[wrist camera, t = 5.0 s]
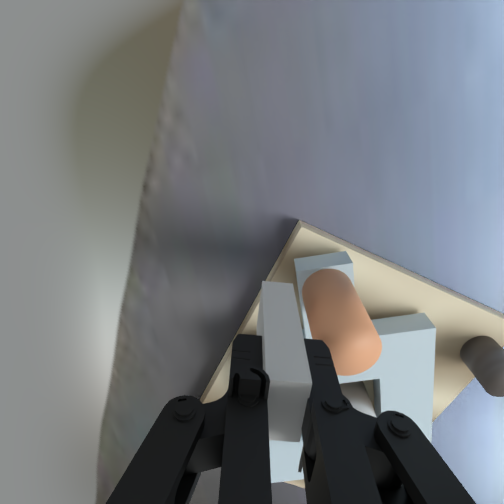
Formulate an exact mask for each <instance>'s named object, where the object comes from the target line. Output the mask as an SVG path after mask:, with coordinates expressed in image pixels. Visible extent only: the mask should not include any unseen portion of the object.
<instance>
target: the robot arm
mask: <svg viewBox="0 0 504 504" xmlns="http://www.w3.org/2000/svg"><path fill="white" fill-rule="evenodd" d="M301 434H302V437H303V448H302V453H301V457H300V462H299V467H298V472H301V471H302V467H303V474H304V482H305V491H306V499H307V504H476V503H475V502H474V500H473V499H472V498H471V496H470V495H469V494H468V492H467V491H466V490H465V488H464V487H463V486H462V484H461V483H460V482H459V480H458V479H457V478H456V476H455V475H454V474H453V472H452V471H451V470H450V468H449V467H448V465H447V464H446V463H445V461H444V460H443V459H442V457H441V456H440V455H439V453H438V452H437V451H436V449H435V448H434V447H433V445H432V444H431V443H430V441H429V440H428V439H427V437H426V436H425V435H424V433H423V432H422V431H421V429H420V428H419V427H418V425H417V424H416V423H415V422H414V421H413V420H412V419H411V418H409V417H408V416H406V415H405V414H403V413H400V412H397V411H388V410H387V411H385V412H382V413H381V414H380V415H379V416H378V418H377V417H374V416H371V415H368V414H365V413H362V412H360V411H358V410H356V409H355V408H353V406H352V404H351V403H350V401H349V400H348V399H347V398H346V397H345V396H344V395H343V394H342V391H341V387H340V384H339V380H338V377H337V373H336V370H335V367H334V363H333V360H332V356H331V353H330V349H329V347H328V346H327V345H326V344H325V343H324V342H323V340H317V339H305V338H303V333H302V328H301V323H300V317H299V312H298V307H297V302H296V297H295V292H294V287H293V283H281V282H270V281H262V287H261V295H260V303H259V311H258V319H257V335H248V334H238V335H237V336H236V337H235V339H234V340H233V342H232V353H231V364H230V375H229V386H228V390H227V392H226V393H225V395H223V396H222V397H221V398H220V399H218V400H216V401H213V402H209V403H204V404H203V403H202V402H201V401H200V400H199V399H197V398H195V397H193V396H185V395H184V396H179V397H176V398H174V399H172V400H170V401H169V402H168V403H167V404H166V405H165V406H164V408H163V410H162V411H161V413H160V415H159V416H158V418H157V420H156V421H155V423H154V425H153V426H152V428H151V430H150V431H149V433H148V434H147V436H146V438H145V439H144V441H143V443H142V444H141V446H140V448H139V449H138V451H137V453H136V454H135V456H134V458H133V459H132V461H131V463H130V464H129V466H128V468H127V469H126V471H125V473H124V474H123V476H122V478H121V479H120V481H119V483H118V484H117V486H116V487H115V489H114V491H113V492H112V494H111V496H110V497H109V499H108V501H107V502H106V504H189V502H190V500H191V497H192V495H193V492H194V490H195V487H196V485H197V482H198V480H199V477H200V475H201V472H203V471H207V470H210V469H214V468H218V467H221V477H220V488H219V500H218V504H272V492H271V470H270V447H269V440H274V441H288V442H300V439H301Z"/></svg>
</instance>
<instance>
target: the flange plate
mask: <svg viewBox="0 0 504 504" xmlns="http://www.w3.org/2000/svg"><path fill="white" fill-rule="evenodd" d="M294 263H295V270H296V277H297V285H298V292H299V299H300V306H301V314H302V321H303V328H304V329H302V333H303V338H305V339H317V340H323V342H324V343H325V344H326V345H327V346H328V347H329V349H330V353H331V356H332V360H333V363H334V367H335V370H336V373H337V377H338V380H339V384H341V383H349V382H357V381H365V380H372V379H373V385H374V407H375V414H376V417H377V418H378V416H379V415H380V414H381V413H382V412H385V411H387V410H388V411H397V412H400V413H403V414H405V415H406V416H408V417H409V418H411V419H412V420H413V421H414V422H415V423H416V424H417V425H418V427H419V428H420V429H421V431H422V432H423V433H424V435H425V436H426V437H427V439H428V440H429V441H430V443H431V438H432V413H433V389H434V365H435V340H436V327H435V326H434V325H433V323H432V322H431V321H430V319H429V318H428V317H427V316H426V314H425V313H417V314H410V315H402V316H395V317H388V318H381V319H373V320H371V319H370V317H369V315H368V313H367V311H366V309H365V307H364V306H363V304H362V302H361V300H360V298H359V296H358V294H357V292H356V290H355V288H354V272H353V262H352V261H351V259H350V257H349V255H348V254H347V252H346V251H342V252H335V253H329V254H322V255H316V256H309V257H303V258H296V259H294ZM269 447H270V470H271V483H275V482H284V481H293V480H302V479H304V474H303V467H302V471H301V472H298V467H299V462H300V457H301V453H302V448H303V437H302V434H301V439H300V442H288V441H274V440H269Z"/></svg>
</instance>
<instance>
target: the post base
mask: <svg viewBox="0 0 504 504" xmlns="http://www.w3.org/2000/svg"><path fill="white" fill-rule="evenodd" d="M342 251H346V252H347V254H348V255H349V257H350V259H351V261H352V262H353V272H354V288H355V290H356V292H357V294H358V296H359V298H360V300H361V302H362V304H363V306H364V307H365V309H366V311H367V313H368V315H369V317H370V319H371V320H373V319H381V318H388V317H395V316H402V315H410V314H417V313H425V314H426V316H427V317H428V318H429V319H430V321H431V322H432V323H433V325H434V326H435V327H436V340H435V365H434V389H433V413H432V422H433V421H434V420H435V419H436V418H437V417H438V416H439V415H440V414H441V413H442V412H443V410H444V409H445V408H446V407H447V406H448V405H449V404H450V403H451V402H452V401H453V400H454V399H455V398H456V397H457V395H458V394H459V393H460V392H461V391H462V390H463V389H464V388H465V387H466V386H467V385H468V384H469V383H470V382H471V381H472V379H473V378H474V377H476V379H477V380H478V381H479V383H480V384H481V385H482V386H483V388H484V389H485V390H486V392H487V393H489V394H490V395H492V396H497V397H503V396H504V349H503V348H502V347H503V346H504V314H503V313H501V312H498V311H496V310H494V309H492V308H490V307H488V306H485V305H483V304H481V303H479V302H477V301H475V300H472V299H470V298H468V297H466V296H464V295H461V294H459V293H457V292H455V291H453V290H451V289H448V288H446V287H444V286H442V285H440V284H438V283H435V282H433V281H431V280H429V279H427V278H425V277H422V276H420V275H418V274H416V273H414V272H412V271H409V270H407V269H405V268H403V267H401V266H398V265H396V264H394V263H392V262H390V261H388V260H385V259H383V258H381V257H379V256H377V255H375V254H372V253H370V252H368V251H366V250H364V249H362V248H359V247H357V246H355V245H353V244H351V243H348V242H346V241H344V240H342V239H340V238H338V237H335V236H333V235H331V234H329V233H327V232H325V231H322V230H320V229H318V228H316V227H314V226H312V225H309V224H307V223H305V222H303V221H301V220H299V221H298V223H297V224H296V226H295V228H294V230H293V232H292V233H291V235H290V237H289V239H288V241H287V242H286V244H285V246H284V248H283V250H282V252H281V253H280V255H279V257H278V259H277V261H276V262H275V264H274V266H273V268H272V270H271V271H270V273H269V275H268V277H267V279H266V280H265V281H270V282H281V283H293V287H294V292H295V297H296V302H297V307H298V312H299V317H300V323H301V328H302V329H304V328H303V321H302V314H301V306H300V299H299V292H298V285H297V277H296V270H295V263H294V259H296V258H303V257H309V256H316V255H322V254H329V253H335V252H342ZM260 295H261V290H260V291H259V293H258V295H257V297H256V299H255V300H254V302H253V304H252V306H251V308H250V309H249V311H248V313H247V315H246V317H245V319H244V320H243V322H242V324H241V326H240V328H239V329H238V331H237V333H236V335H235V337H236V336H237V335H238V334H248V335H257V319H258V311H259V303H260ZM235 337H234V338H233V340H234V339H235ZM233 340H232V342H233ZM232 342H231V344H230V346H229V347H228V349H227V351H226V353H225V355H224V357H223V358H222V360H221V362H220V364H219V366H218V367H217V369H216V371H215V373H214V375H213V376H212V378H211V380H210V382H209V384H208V385H207V387H206V389H205V391H204V393H203V395H202V396H201V398H200V401H201V402H202V403H203V404H204V403H209V402H213V401H216V400H218V399H220V398H221V397H222V396H223V395H225V393H226V392H227V390H228V386H229V375H230V364H231V353H232ZM340 387H341V391H342V394H343V395H344V396H345V397H346V398H347V399H348V400H349V401H350V403H351V404H352V406H353V408H355V409H356V410H358V411H360V412H362V413H365V414H368V415H371V416H374V417H376V414H375V407H374V385H373V379H372V380H365V381H357V382H349V383H341V384H340ZM284 482H286V483H289V484H293V485H296V486H299V487H302V488H305V482H304V479H302V480H293V481H284Z"/></svg>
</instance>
